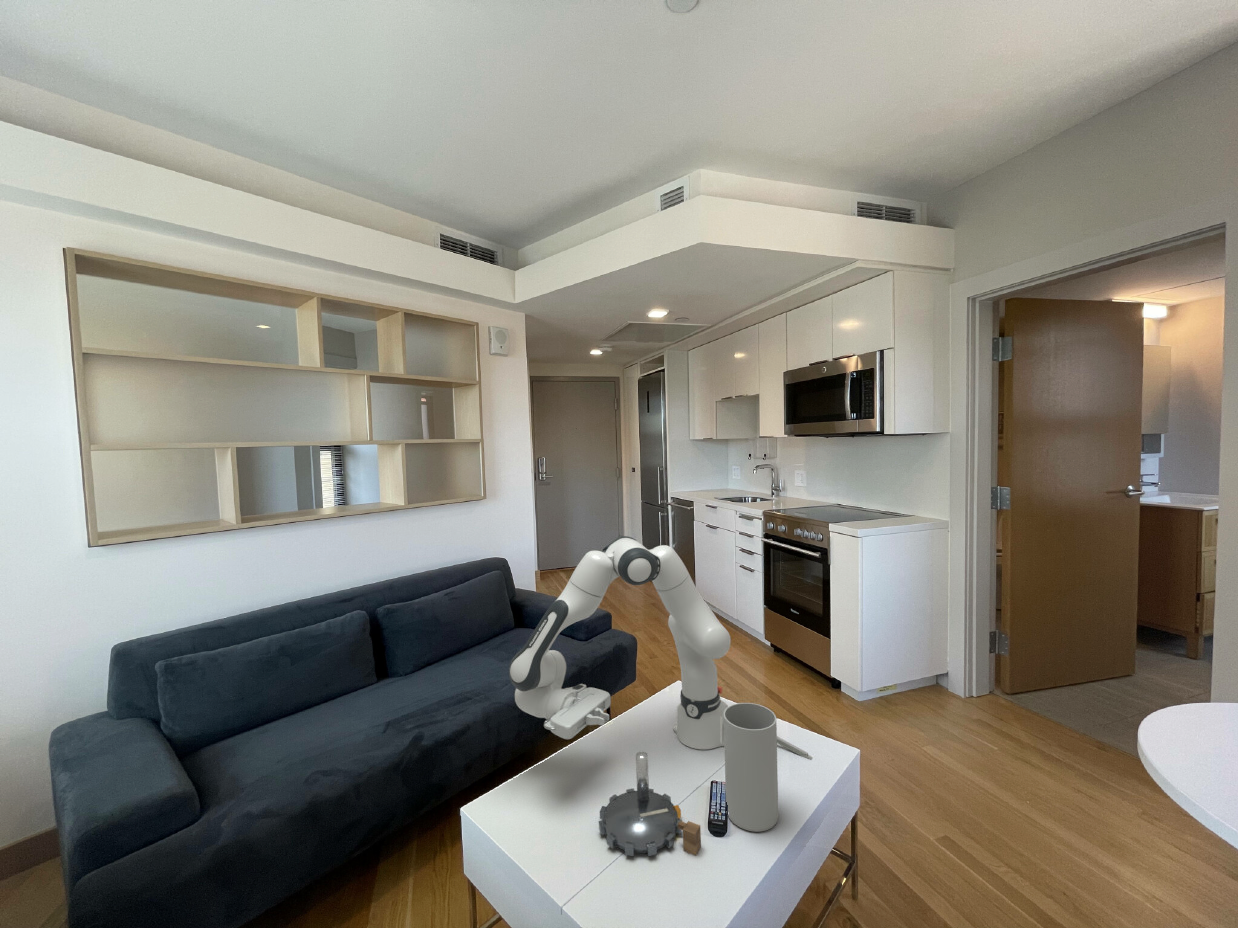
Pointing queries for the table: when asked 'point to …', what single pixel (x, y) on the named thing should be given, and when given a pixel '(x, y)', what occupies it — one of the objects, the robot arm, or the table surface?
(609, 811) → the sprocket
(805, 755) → the caliper
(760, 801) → the cylinder vase
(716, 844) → the table surface
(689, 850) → the brown wooden block
